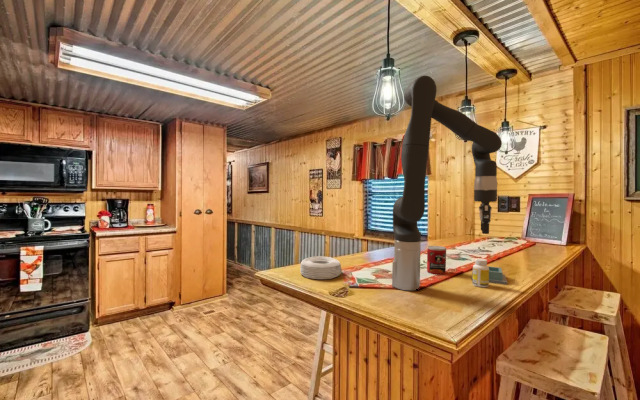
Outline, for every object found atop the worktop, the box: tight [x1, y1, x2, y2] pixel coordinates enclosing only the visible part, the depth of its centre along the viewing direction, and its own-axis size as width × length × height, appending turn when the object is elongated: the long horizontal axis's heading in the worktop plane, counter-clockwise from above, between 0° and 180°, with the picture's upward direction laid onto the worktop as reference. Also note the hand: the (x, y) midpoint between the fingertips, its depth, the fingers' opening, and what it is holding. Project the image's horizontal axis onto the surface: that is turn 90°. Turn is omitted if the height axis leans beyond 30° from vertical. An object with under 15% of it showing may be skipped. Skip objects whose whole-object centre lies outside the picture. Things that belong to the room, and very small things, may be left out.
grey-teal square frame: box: [471, 265, 508, 286], centre depth 122 cm, size 12×12×4 cm
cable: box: [299, 255, 342, 280], centre depth 126 cm, size 18×18×6 cm
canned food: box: [426, 245, 447, 275], centre depth 130 cm, size 8×8×11 cm
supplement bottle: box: [472, 258, 490, 288], centre depth 113 cm, size 5×5×10 cm
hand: (484, 232), depth 112 cm, fingers open, 8 cm apart
